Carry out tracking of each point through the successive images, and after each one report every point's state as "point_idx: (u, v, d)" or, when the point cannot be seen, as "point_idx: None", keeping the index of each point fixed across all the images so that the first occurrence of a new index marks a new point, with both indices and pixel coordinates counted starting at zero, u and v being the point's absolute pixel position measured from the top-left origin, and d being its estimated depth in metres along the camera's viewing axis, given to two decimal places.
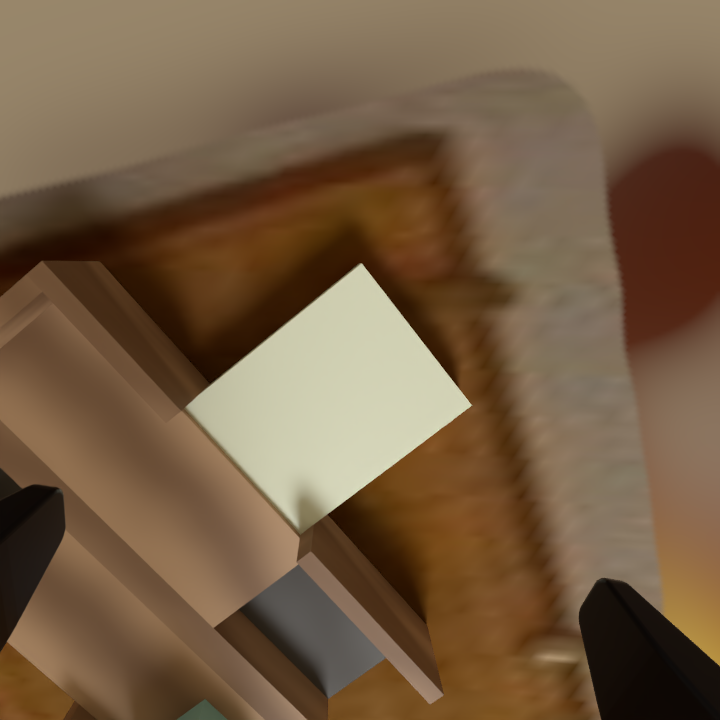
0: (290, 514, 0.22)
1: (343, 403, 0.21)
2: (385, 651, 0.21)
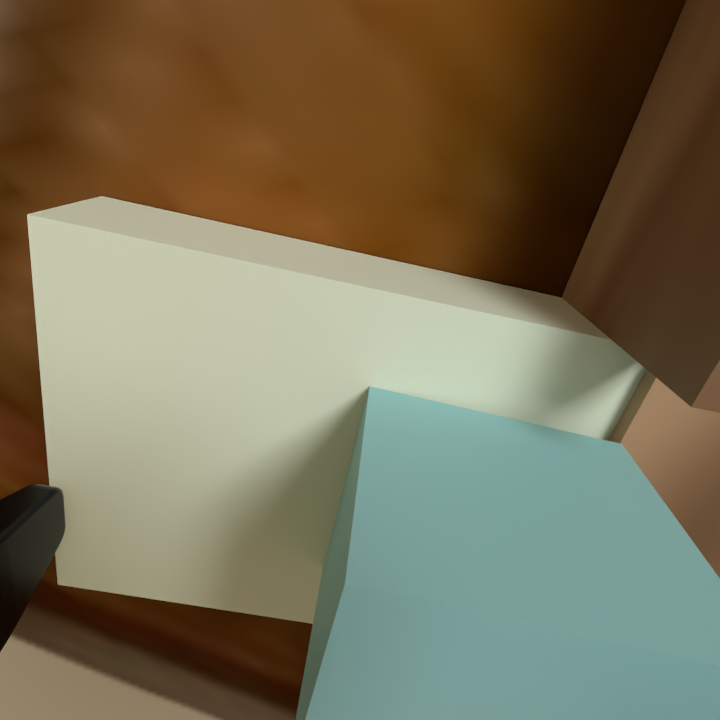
0: (610, 401, 0.08)
1: (287, 467, 0.09)
2: None
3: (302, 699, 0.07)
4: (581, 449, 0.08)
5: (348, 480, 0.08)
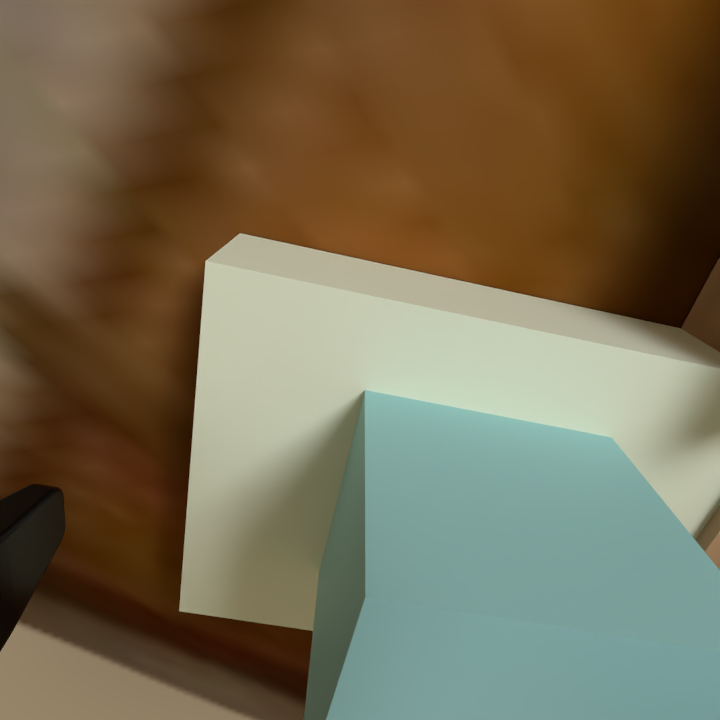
0: None
1: None
2: None
3: (311, 710, 0.07)
4: (574, 444, 0.08)
5: (347, 485, 0.08)
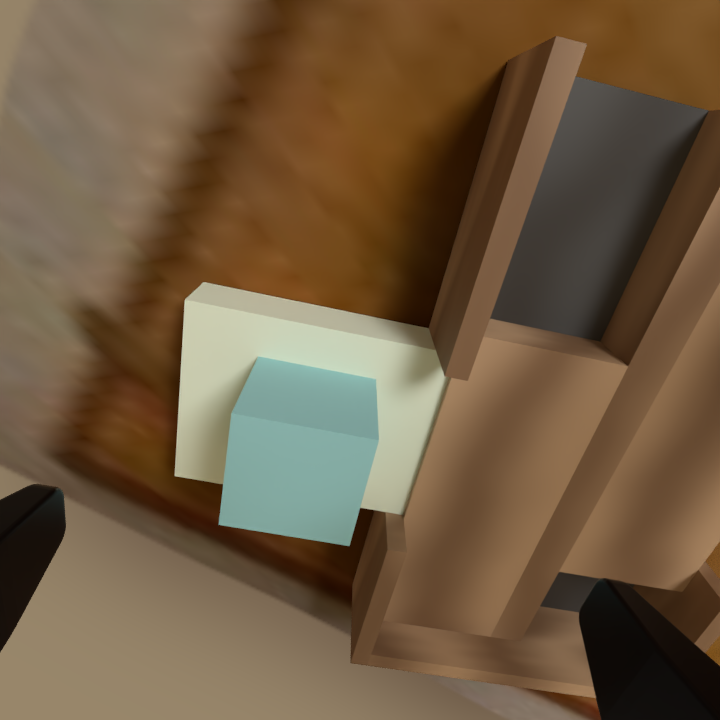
0: (440, 378, 0.18)
1: None
2: (526, 193, 0.13)
3: None
4: (352, 380, 0.18)
5: None
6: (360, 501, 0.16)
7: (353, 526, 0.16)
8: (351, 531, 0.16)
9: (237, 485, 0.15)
